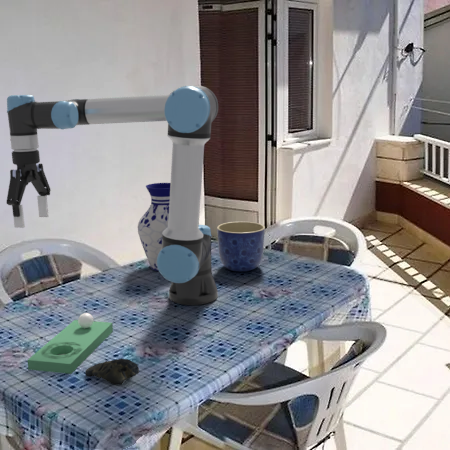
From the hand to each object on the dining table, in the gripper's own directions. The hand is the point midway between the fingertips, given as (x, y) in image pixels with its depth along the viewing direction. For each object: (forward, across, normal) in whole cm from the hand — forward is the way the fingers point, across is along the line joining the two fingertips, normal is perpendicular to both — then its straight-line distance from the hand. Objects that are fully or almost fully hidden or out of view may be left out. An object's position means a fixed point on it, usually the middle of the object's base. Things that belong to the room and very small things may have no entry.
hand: (32, 222), depth 181 cm
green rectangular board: (+26, +27, +25) cm, 45 cm away
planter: (+27, -48, +53) cm, 76 cm away
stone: (+27, +40, +40) cm, 63 cm away
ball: (+22, +19, +24) cm, 38 cm away
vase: (+26, -44, +26) cm, 57 cm away
